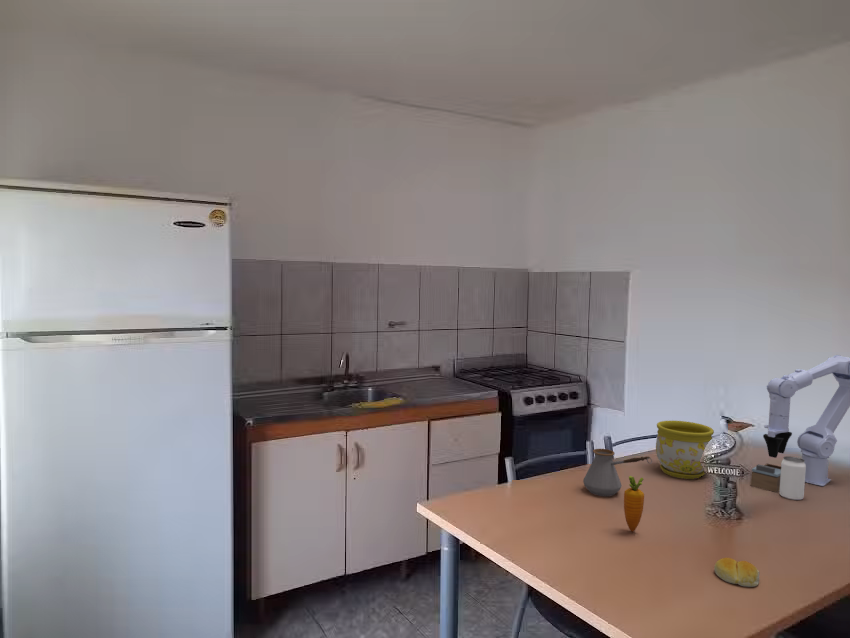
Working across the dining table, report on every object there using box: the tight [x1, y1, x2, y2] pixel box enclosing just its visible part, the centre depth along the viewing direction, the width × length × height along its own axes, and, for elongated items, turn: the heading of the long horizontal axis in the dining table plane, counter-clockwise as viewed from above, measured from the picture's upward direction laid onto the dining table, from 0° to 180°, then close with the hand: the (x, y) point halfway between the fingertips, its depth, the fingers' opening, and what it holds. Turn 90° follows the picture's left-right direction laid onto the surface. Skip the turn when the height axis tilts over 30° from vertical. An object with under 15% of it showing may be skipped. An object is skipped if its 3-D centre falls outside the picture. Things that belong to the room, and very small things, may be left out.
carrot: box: [623, 475, 645, 533], centre depth 155 cm, size 5×5×15 cm
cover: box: [751, 464, 781, 477], centre depth 194 cm, size 7×8×2 cm
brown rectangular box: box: [750, 463, 781, 493], centre depth 197 cm, size 14×8×5 cm, turn 133°
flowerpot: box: [655, 420, 715, 480], centre depth 205 cm, size 18×18×16 cm
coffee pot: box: [582, 448, 653, 497], centre depth 181 cm, size 21×12×15 cm, turn 40°
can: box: [778, 455, 806, 501], centre depth 185 cm, size 6×6×12 cm
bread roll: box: [714, 557, 760, 588], centre depth 133 cm, size 8×9×4 cm
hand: (776, 454), depth 198 cm, fingers open, 7 cm apart
